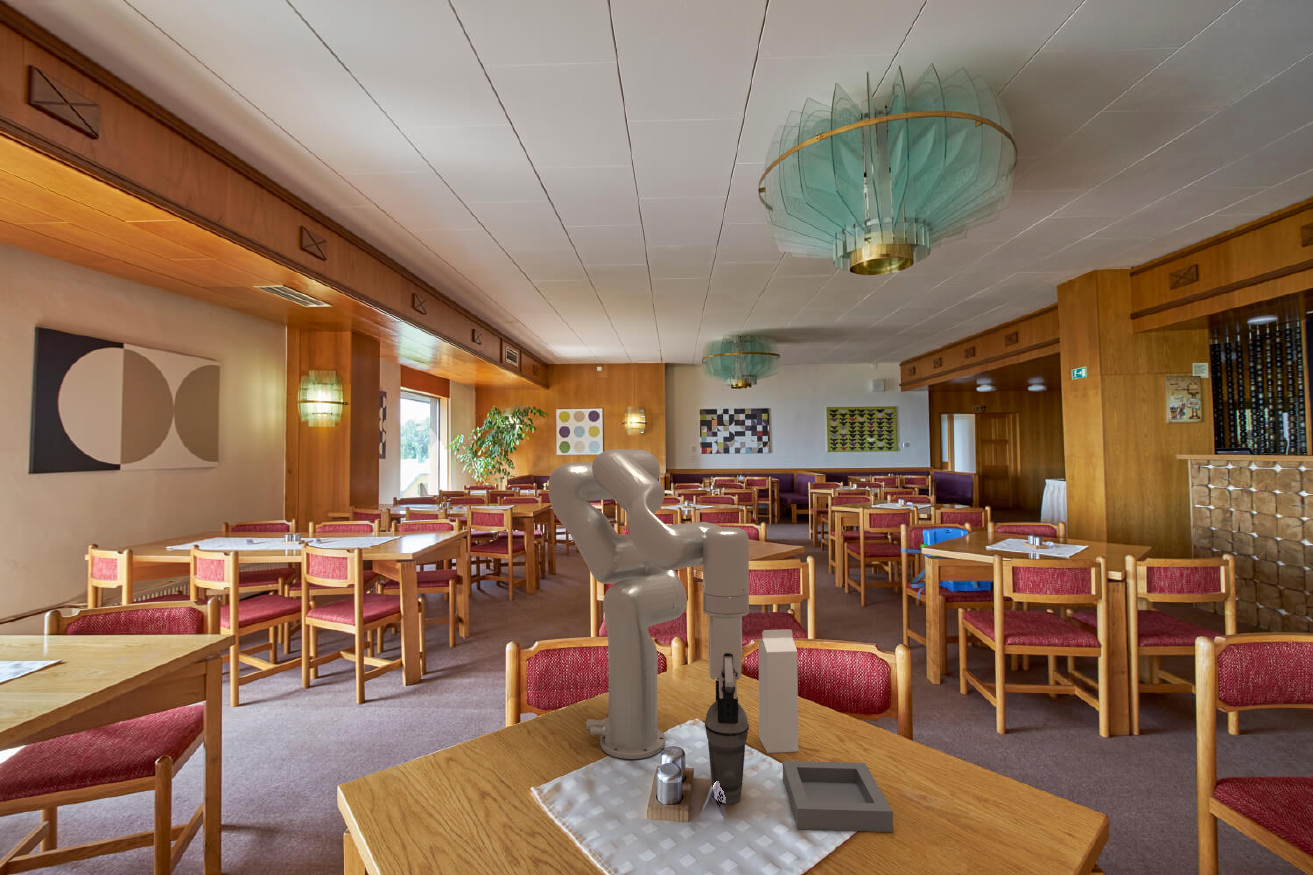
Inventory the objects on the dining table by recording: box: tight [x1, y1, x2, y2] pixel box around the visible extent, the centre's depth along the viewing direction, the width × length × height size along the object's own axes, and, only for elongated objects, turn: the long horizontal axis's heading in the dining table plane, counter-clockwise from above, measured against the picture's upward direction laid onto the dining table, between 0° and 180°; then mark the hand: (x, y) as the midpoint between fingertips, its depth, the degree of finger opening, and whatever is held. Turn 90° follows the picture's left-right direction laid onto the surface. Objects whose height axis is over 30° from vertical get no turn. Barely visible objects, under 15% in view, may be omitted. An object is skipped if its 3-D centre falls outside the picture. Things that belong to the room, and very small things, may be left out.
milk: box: [758, 629, 799, 754], centre depth 115 cm, size 6×6×22 cm
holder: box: [782, 760, 894, 833], centre depth 96 cm, size 14×14×3 cm
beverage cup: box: [704, 673, 750, 805], centre depth 98 cm, size 7×7×20 cm
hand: (726, 712), depth 98 cm, fingers closed on beverage cup, 6 cm apart
